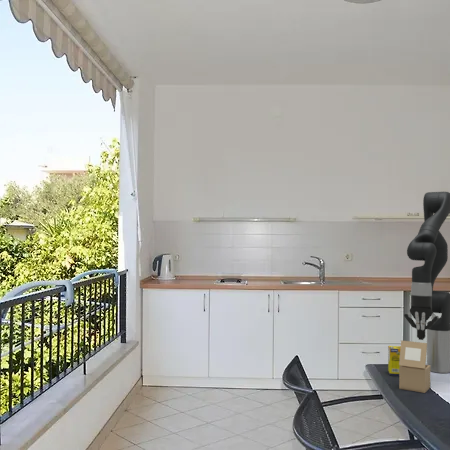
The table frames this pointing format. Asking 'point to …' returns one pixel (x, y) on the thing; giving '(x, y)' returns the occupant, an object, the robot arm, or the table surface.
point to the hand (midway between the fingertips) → (421, 339)
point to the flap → (413, 354)
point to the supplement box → (393, 360)
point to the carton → (414, 378)
